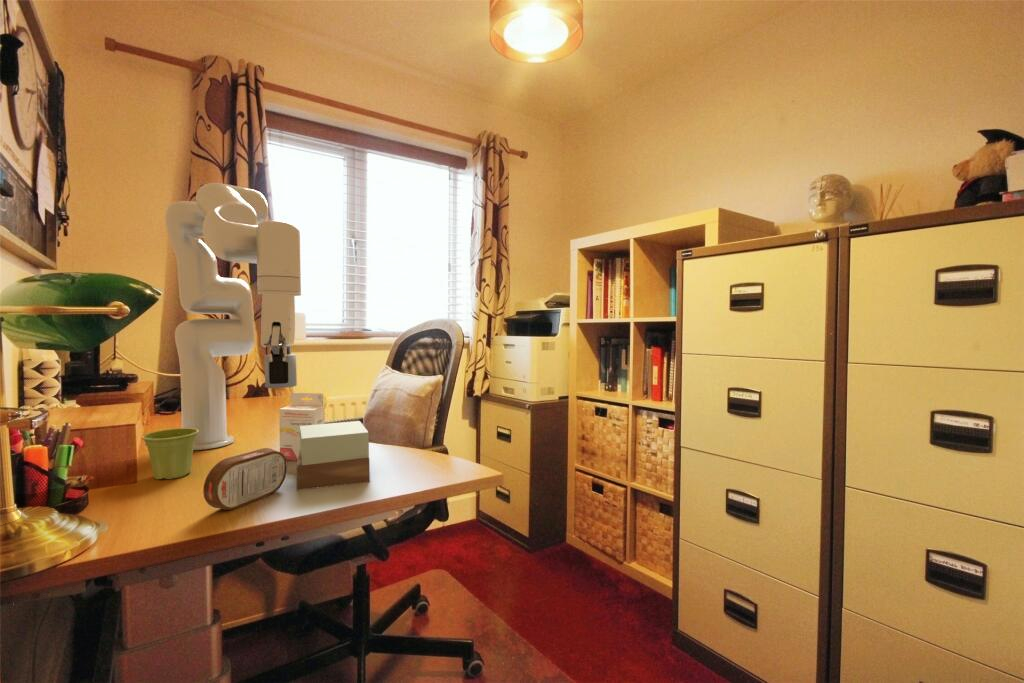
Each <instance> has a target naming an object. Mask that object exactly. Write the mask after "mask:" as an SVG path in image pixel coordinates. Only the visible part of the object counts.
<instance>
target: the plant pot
mask: <svg viewBox="0 0 1024 683" xmlns="http://www.w3.org/2000/svg"><path fill="white" fill-rule="evenodd" d="M198 432H199V430H198V429H194V428H182V427H180V428H169V429H161V430H157V431H151V432H149V433H148V432H147V433H146V434H143V435H142V436H141V439H142V440H143V441H144V443H145V446H146V447H147V451H148V456H149V461H150V464H151V470H152V475H153V478H154V479H155V480H158V479H160V480H162V479H166V480H174V479H178V478H182V477H184V476H187V474H190V473H191V471H192V463H193V454H194V450H193V447H194V441H195V439H196V435H197V433H198ZM173 478H174V479H173Z"/></svg>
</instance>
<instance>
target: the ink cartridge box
mask: <svg viewBox="0 0 1024 683" xmlns="http://www.w3.org/2000/svg"><path fill="white" fill-rule="evenodd" d="M306 397H307V398H308V399H312V400H307V399H306V400H305V398H306ZM317 424H325V406H324V394H323V393H322V392H321V393H319V392H318V393H317V392H316V393H313V392H291V393H290V405H287V406H285V407H281V408H279V452H281V453H282V454H283V455H284V456H285V458H286V460H287V461H295V460H296V461H298V456H299V452H300V426H306V425H317Z"/></svg>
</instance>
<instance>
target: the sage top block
mask: <svg viewBox="0 0 1024 683" xmlns="http://www.w3.org/2000/svg"><path fill="white" fill-rule="evenodd" d="M369 440H370V438H369V431H368V429H367V428H366V427H365V426H364V424H363V423H362V422H361V421H360V420H354V421H344V422H343V421H342V422H331V423H330V422H329V423H324V424H317V425H306V426H300V452H301V459H302V465H310V464H318V463H327V462H335V461H344V460H353V459H361V458H369V459H370V449H369V448H370V441H369Z"/></svg>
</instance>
